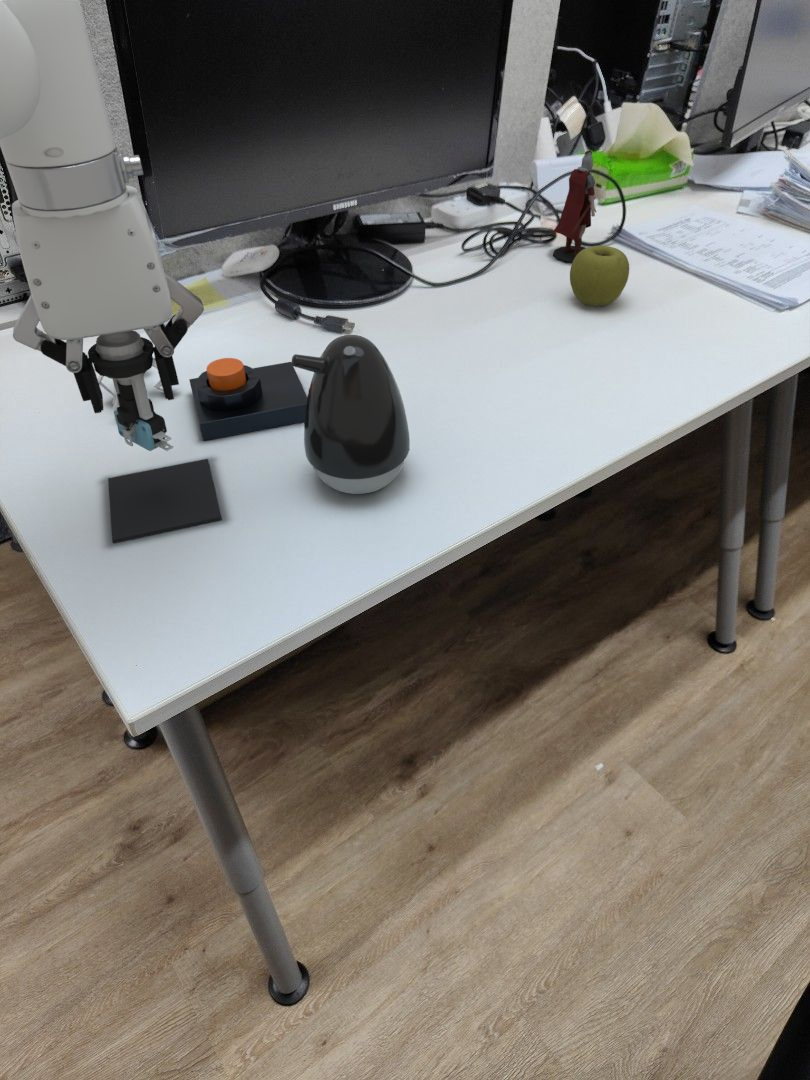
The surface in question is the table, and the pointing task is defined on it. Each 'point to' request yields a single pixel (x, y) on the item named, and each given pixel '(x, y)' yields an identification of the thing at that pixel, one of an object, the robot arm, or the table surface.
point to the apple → (599, 275)
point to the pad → (162, 500)
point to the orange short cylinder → (226, 374)
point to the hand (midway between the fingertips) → (133, 396)
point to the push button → (130, 387)
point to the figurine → (577, 210)
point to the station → (250, 402)
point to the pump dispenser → (354, 417)
